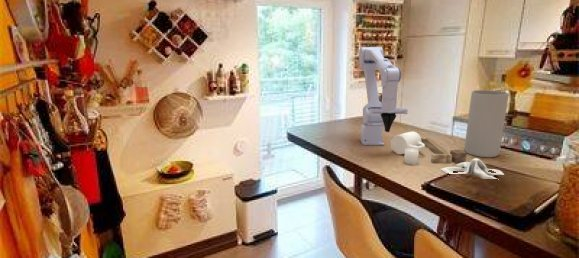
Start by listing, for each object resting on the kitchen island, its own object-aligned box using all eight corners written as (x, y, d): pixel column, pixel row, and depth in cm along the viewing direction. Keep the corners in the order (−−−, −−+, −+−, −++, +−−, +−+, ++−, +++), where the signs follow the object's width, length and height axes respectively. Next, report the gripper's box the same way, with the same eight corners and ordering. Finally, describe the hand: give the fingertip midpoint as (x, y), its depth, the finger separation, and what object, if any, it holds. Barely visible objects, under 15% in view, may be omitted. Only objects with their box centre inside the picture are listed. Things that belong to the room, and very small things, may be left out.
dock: (432, 162, 124) (433, 155, 124) (412, 144, 146) (413, 137, 146) (451, 162, 124) (452, 155, 123) (428, 144, 146) (429, 137, 145)
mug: (390, 151, 138) (391, 133, 136) (404, 147, 143) (406, 129, 141) (415, 159, 128) (416, 140, 126) (429, 154, 134) (431, 135, 132)
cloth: (433, 174, 115) (435, 157, 113) (456, 161, 127) (458, 146, 125) (505, 195, 99) (508, 177, 97) (523, 179, 110) (527, 161, 109)
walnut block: (456, 163, 123) (457, 153, 122) (449, 160, 127) (450, 150, 126) (465, 162, 124) (466, 152, 123) (458, 159, 128) (459, 149, 127)
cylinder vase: (498, 150, 136) (508, 91, 130) (499, 160, 126) (509, 95, 120) (464, 146, 143) (472, 89, 136) (463, 154, 132) (471, 93, 126)
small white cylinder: (406, 164, 123) (407, 152, 122) (402, 160, 128) (403, 147, 126) (419, 164, 123) (420, 152, 121) (415, 160, 127) (416, 147, 126)
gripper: (372, 100, 126) (371, 133, 130) (411, 99, 125) (408, 133, 129) (369, 97, 133) (367, 129, 136) (405, 96, 132) (402, 129, 136)
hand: (387, 131), depth 133 cm, fingers closed
